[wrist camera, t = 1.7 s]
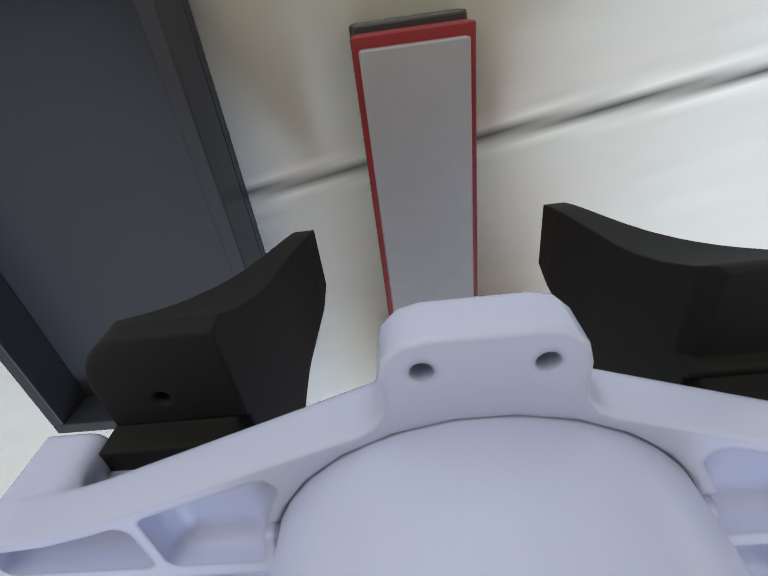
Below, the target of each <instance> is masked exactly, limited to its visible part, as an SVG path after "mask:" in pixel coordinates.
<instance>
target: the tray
mask: <svg viewBox="0 0 768 576" xmlns="http://www.w3.org/2000/svg"><path fill="white" fill-rule="evenodd" d="M264 255H265V251H264V248H263V245H262V242H261V238H260V235H259V232H258V229H257V225H256V222H255V219H254V216H253V212H252V209H251V206H250V203H249V199H248V196H247V193H246V190H245V186H244V183H243V180H242V177H241V173H240V170H239V167H238V164H237V160H236V157H235V154H234V151H233V147H232V144H231V141H230V138H229V134H228V131H227V128H226V125H225V121H224V118H223V115H222V112H221V108H220V105H219V102H218V99H217V95H216V92H215V89H214V86H213V82H212V79H211V76H210V73H209V69H208V66H207V63H206V60H205V56H204V53H203V50H202V47H201V43H200V40H199V37H198V34H197V30H196V27H195V24H194V21H193V17H192V14H191V11H190V8H189V4H188V1H187V0H0V361H1V362H2V364H3V365H4V366H5V367H6V368H7V370H8V371H9V372H10V373H11V375H12V376H13V377H14V378H15V380H16V381H17V382H18V383H19V385H20V386H21V387H22V388H23V389H24V391H25V392H26V393H27V394H28V396H29V397H30V398H31V399H32V401H33V402H34V403H35V404H36V406H37V407H38V408H39V409H40V410H41V412H42V413H43V414H44V415H45V417H46V418H47V419H48V420H49V422H50V423H51V424H52V425H54V428H55V429H56V430H57V432H58V433H70V432H83V431H95V430H107V429H115V428H116V426H117V425H116V423H115V422H114V420H113V419H112V418H111V416H110V415H109V413H108V412H107V410H106V409H105V407H104V406H103V405H102V403H101V402H100V400H99V399H98V397H97V396H96V394H95V393H94V392H93V390H92V388H91V386H90V385H89V383H88V381H87V379H86V376H85V369H84V364H85V361H86V357H87V355H88V354H89V352H90V351H91V350H92V349H93V347H94V346H95V345H96V344H97V343H98V341H99V340H100V339H101V338H102V337H103V335H104V334H105V333H106V332H107V331H108V329H109V328H110V327H111V326H112V324H113V323H114V322H115V321H119V320H123V319H127V318H131V317H134V316H138V315H142V314H146V313H149V312H153V311H156V310H159V309H162V308H165V307H168V306H171V305H174V304H177V303H180V302H182V301H185V300H187V299H190V298H192V297H194V296H197V295H199V294H201V293H203V292H205V291H207V290H210V289H212V288H214V287H216V286H218V285H220V284H222V283H223V282H225V281H227V280H229V279H231V278H232V277H234V276H236V275H237V274H239V273H240V272H242V271H243V270H245V269H246V268H248V267H249V266H250V265H252V264H253V263H255V262H256V261H257V260H259V259H260V258H262V257H263V256H264Z"/></svg>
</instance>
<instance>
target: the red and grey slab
mask: <svg viewBox="0 0 768 576" xmlns="http://www.w3.org/2000/svg"><path fill="white" fill-rule="evenodd" d="M349 32H350V44H351V51H352V58H353V65H354V72H355V79H356V86H357V93H358V100H359V107H360V114H361V121H362V128H363V135H364V142H365V149H366V156H367V163H368V170H369V177H370V184H371V191H372V198H373V205H374V212H375V219H376V226H377V233H378V240H379V247H380V254H381V261H382V268H383V275H384V282H385V289H386V296H387V303H388V310H389V316H390V315H391V314H392V313H393V312H394V311H395V310H397V309H400V308H403V307H406V306H409V305H412V304H415V303H418V302H426V301H436V300H446V299H457V298H467V297H477V159H476V22H475V20H470V19H467V12H466V9H453V10H446V11H439V12H432V13H425V14H418V15H411V16H404V17H397V18H390V19H383V20H376V21H369V22H362V23H355V24H352V25H350V26H349Z"/></svg>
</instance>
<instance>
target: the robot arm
mask: <svg viewBox="0 0 768 576" xmlns="http://www.w3.org/2000/svg"><path fill="white" fill-rule="evenodd" d="M539 265H540V268H541V270H542V273H543V276H544V278H545V281H546V283H547V286H548V288H549V290H550V291H551V293H552V294H544V293H536V292H518V293H508V294H498V295H487V296H477V297H467V298H457V299H446V300H436V301H426V302H418V303H415V304H412V305H409V306H406V307H403V308H400V309H397V310H395V311H394V312H393V313H392V314H391V315H390V316H389V317H388V318H387V319H386V320H385V321H384V322H383V323H382V324H381V327H380V333H379V338H378V347H377V379H376V380H375V381H374V382H373V383H370V384H367V385H364V386H362V387H359V388H356V389H353V390H351V391H348V392H345V393H342V394H340V395H337V396H334V397H331V398H329V399H326V400H323V401H321V402H318V403H315V404H312V405H310V406H307V407H306V396H307V388H308V379H309V371H310V366H311V361H312V356H313V352H314V348H315V344H316V340H317V336H318V332H319V328H320V324H321V320H322V316H323V311H324V305H325V293H326V281H325V277H324V273H323V269H322V264H321V260H320V256H319V251H318V247H317V243H316V238H315V234H314V230H312V231H303V232H295V233H293V234H291V235H290V236H288V237H287V238H286V239H284V240H283V241H282V242H280V243H279V244H278V245H277V246H275V247H274V248H273V249H272V250H270V251H269V252H268V253H267V254H265V255H264V256H263V257H262V258H260V259H259V260H257V261H256V262H255V263H253V264H252V265H250V266H249V267H248V268H246V269H245V270H243V271H242V272H240V273H239V274H237V275H236V276H234V277H232V278H231V279H229V280H227V281H225V282H223V283H222V284H220V285H218V286H216V287H214V288H212V289H210V290H207V291H205V292H203V293H201V294H199V295H197V296H194V297H192V298H190V299H187V300H185V301H182V302H180V303H177V304H174V305H171V306H168V307H165V308H162V309H159V310H156V311H153V312H149V313H146V314H142V315H138V316H134V317H131V318H127V319H123V320H119V321H115V322H114V323H113V324H112V326H111V327H110V328H109V329H108V331H107V332H106V333H105V334H104V335H103V337H102V338H101V339H100V340H99V341H98V343H97V344H96V345H95V346H94V347H93V349H92V350H91V351H90V352H89V354H88V355H87V357H86V361H85V364H84V369H85V376H86V379H87V381H88V383H89V385H90V386H91V388H92V390H93V392H94V393H95V394H96V396H97V397H98V399H99V400H100V402H101V403H102V405H103V406H104V407H105V409H106V410H107V412H108V413H109V415H110V416H111V418H112V419H113V420H114V422H115V423H116V425H117V426H116V428H115V429H114V431H113V432H112V434H111V436H110V437H109V439H108V438H107V437H105V436H102V435H100V434H92V433H91V434H79V435H66V436H54V437H49V438H48V439H47V440H46V441H45V442H44V444H43V445H42V446H41V448H40V449H39V450H38V452H37V453H36V454H35V455H34V457H33V458H32V459H31V461H30V462H29V463H28V464H27V466H26V467H25V468H24V470H23V471H22V472H21V473H20V475H19V476H18V477H17V479H16V480H15V481H14V482H13V484H12V485H11V486H10V488H9V489H8V490H7V492H6V493H5V494H4V495H3V497H2V498H1V499H0V576H768V250H765V249H752V248H740V247H730V246H721V245H714V244H708V243H701V242H694V241H689V240H684V239H679V238H674V237H670V236H666V235H662V234H657V233H654V232H650V231H646V230H643V229H640V228H637V227H634V226H630V225H627V224H624V223H622V222H619V221H616V220H613V219H610V218H608V217H605V216H603V215H600V214H597V213H595V212H592V211H589V210H587V209H584V208H581V207H579V206H576V205H572V204H569V203H556V204H547V205H544V207H543V218H542V230H541V242H540V254H539Z"/></svg>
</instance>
